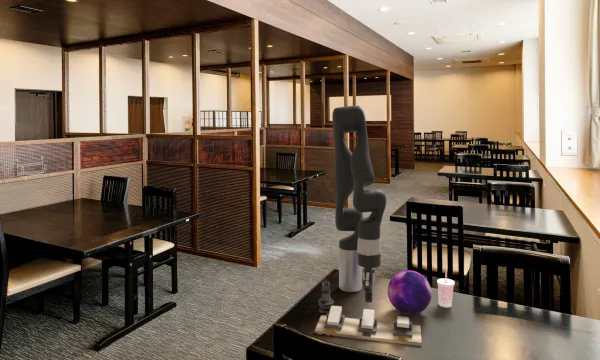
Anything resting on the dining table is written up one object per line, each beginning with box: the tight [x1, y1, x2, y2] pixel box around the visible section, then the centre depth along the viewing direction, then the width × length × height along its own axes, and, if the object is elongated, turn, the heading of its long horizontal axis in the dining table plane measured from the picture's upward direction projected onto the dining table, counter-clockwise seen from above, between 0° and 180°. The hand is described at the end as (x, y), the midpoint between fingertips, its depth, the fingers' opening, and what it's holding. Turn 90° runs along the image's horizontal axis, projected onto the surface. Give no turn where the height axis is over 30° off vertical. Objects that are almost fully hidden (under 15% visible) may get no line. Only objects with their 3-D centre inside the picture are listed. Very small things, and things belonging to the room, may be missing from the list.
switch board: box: [314, 313, 423, 347], centre depth 131 cm, size 11×33×4 cm, turn 75°
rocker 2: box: [361, 308, 376, 329], centre depth 132 cm, size 8×4×1 cm, turn 165°
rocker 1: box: [327, 305, 343, 326], centre depth 134 cm, size 8×4×1 cm, turn 165°
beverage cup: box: [436, 267, 456, 308], centre depth 148 cm, size 6×6×14 cm
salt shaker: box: [317, 278, 335, 315], centre depth 145 cm, size 6×6×12 cm
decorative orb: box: [387, 270, 433, 315], centre depth 143 cm, size 15×15×15 cm
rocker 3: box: [396, 315, 410, 328], centre depth 129 cm, size 8×4×1 cm, turn 166°
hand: (368, 301), depth 134 cm, fingers closed
